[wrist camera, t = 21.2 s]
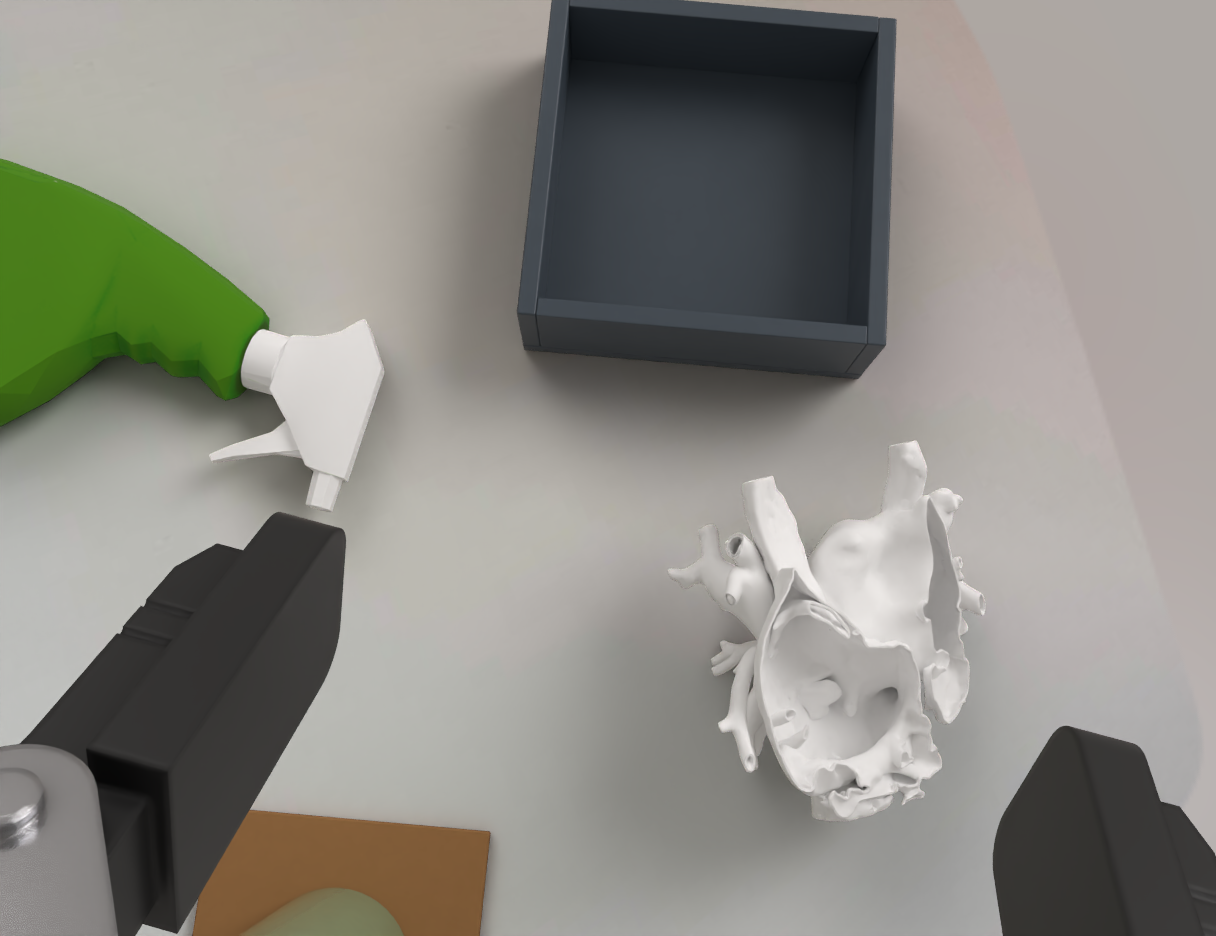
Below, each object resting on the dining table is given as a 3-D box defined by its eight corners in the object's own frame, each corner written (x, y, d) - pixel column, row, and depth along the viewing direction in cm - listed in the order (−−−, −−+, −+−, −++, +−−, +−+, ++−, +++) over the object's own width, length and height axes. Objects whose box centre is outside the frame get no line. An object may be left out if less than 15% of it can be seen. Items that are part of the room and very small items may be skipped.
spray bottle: (-141, 130, 44) (422, 299, 43) (-263, 372, 42) (330, 554, 41) (-191, 91, 41) (411, 270, 40) (-325, 347, 39) (310, 543, 38)
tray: (870, 78, 45) (896, 18, 41) (858, 379, 42) (886, 345, 38) (556, 51, 45) (552, -12, 41) (523, 350, 42) (516, 313, 38)
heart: (764, 879, 33) (668, 505, 33) (693, 823, 39) (614, 512, 39) (1086, 759, 36) (997, 418, 36) (970, 726, 42) (896, 438, 42)
